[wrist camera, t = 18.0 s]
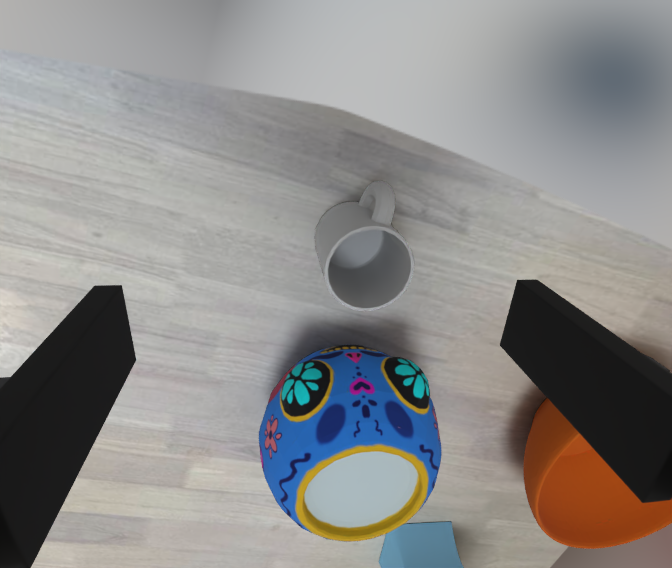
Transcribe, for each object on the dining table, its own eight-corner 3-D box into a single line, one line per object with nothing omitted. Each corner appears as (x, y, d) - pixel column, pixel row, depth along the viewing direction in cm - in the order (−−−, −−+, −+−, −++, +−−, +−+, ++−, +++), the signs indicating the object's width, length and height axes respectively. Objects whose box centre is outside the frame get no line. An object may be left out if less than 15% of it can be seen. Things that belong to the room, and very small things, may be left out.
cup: (304, 260, 40) (312, 299, 32) (336, 161, 36) (354, 177, 28) (370, 277, 42) (394, 319, 34) (407, 184, 38) (443, 206, 30)
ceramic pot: (419, 314, 45) (483, 406, 31) (400, 436, 52) (446, 554, 38) (259, 317, 42) (252, 420, 28) (262, 445, 49) (259, 576, 36)
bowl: (570, 500, 63) (620, 567, 54) (454, 448, 54) (491, 517, 45) (698, 384, 56) (781, 438, 47) (590, 304, 47) (665, 351, 38)
